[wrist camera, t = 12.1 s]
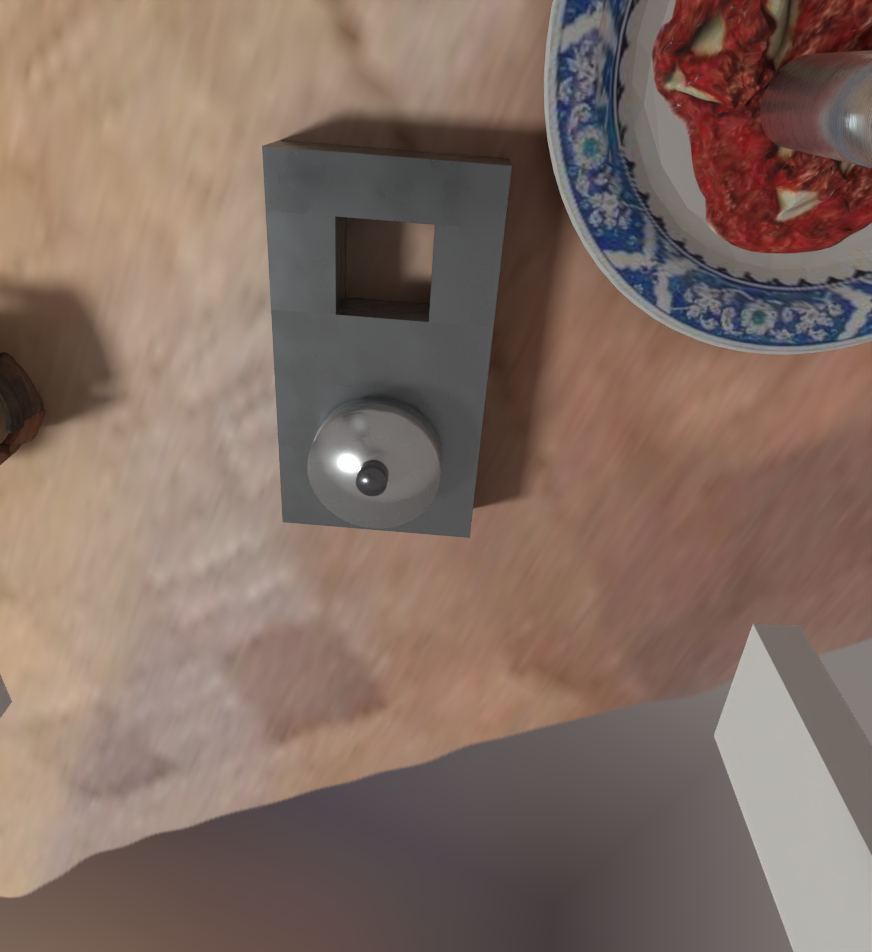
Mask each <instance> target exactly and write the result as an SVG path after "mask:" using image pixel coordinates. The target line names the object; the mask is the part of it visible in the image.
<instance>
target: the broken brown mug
mask: <svg viewBox="0 0 872 952" xmlns="http://www.w3.org/2000/svg"><path fill="white" fill-rule="evenodd" d="M0 400H1V402H2V404H3V407H4V410H5V414H6V432H7V433H9V434H8V436H7V437H6V439H5V440H4V441H3V443H1V444H0V465H1V464H2V463H3V462H4V461H5V460H7V459H8V458H9V457H10V456H11V455H12V454H14V453H15V452H16V451H17V450H18V449H19V447H20V446H21V444H23V443H26V442H29V441H31V440H33V439H34V438H35V436H36V435H37V432H38V430H39V428H40V426H41V423H42V420H43V417H44V410H43V409H42V408H43V402H42V400H41V398H40V396H39V394H38V392H37V390H36V388H35V386H34V385H33V383H32V382H31V380H30V378H29V377H28V375H27V374H26V372H25V371H24V370H23V368H22V367H21V366H20V365H19V364H18V363H17V362H16V361H15V360H14V358H13V357H12V356H11V355H10V354H8V353H6V352H2V353H0Z"/></svg>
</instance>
